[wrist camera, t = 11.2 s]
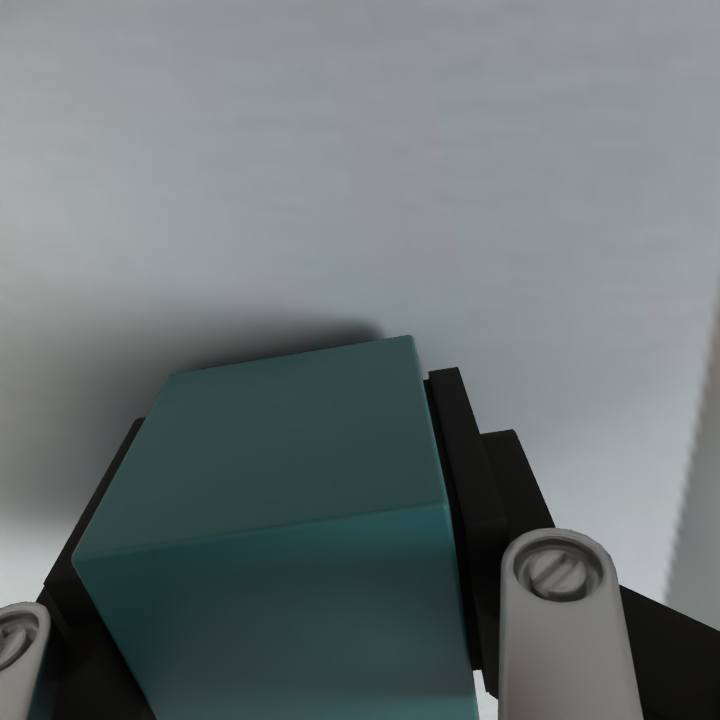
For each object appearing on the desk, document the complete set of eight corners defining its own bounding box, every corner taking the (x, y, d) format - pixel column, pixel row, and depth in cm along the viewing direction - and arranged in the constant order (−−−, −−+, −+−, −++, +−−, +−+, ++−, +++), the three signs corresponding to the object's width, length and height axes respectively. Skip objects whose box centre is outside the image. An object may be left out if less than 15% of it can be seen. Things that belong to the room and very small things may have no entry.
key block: (412, 332, 11) (449, 503, 7) (441, 522, 13) (482, 739, 9) (167, 372, 11) (66, 559, 7) (233, 552, 13) (184, 774, 9)
